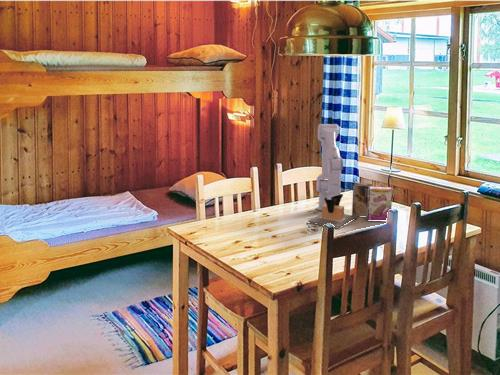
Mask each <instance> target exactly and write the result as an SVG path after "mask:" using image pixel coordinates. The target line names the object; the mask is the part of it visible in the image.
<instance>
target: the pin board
mask: <svg viewBox="0 0 500 375" xmlns="http://www.w3.org/2000/svg"><path fill="white" fill-rule="evenodd" d="M355 218H357V219H358V217H357V216H352V214H346V213H344V219H342V220H341V221H338V220H331V219H324V218H322V213H320V214H319V215H317V216H315V217H313V218H310V219H308V221H307V222H310V223H309V224H311V223H317V224H321V225H324V224H327V223H331V224H333V225H334V226H335V227H338V228H339V227H341V226H343V225H344V224H346V223H348V222H349V221H351V220H353V219H355ZM355 220H356V219H355ZM353 221H354V220H353ZM348 224H349V223H348ZM321 225H320V226H321ZM335 227H334V228H333V229H336V228H335ZM343 227H344V226H343Z"/></svg>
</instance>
